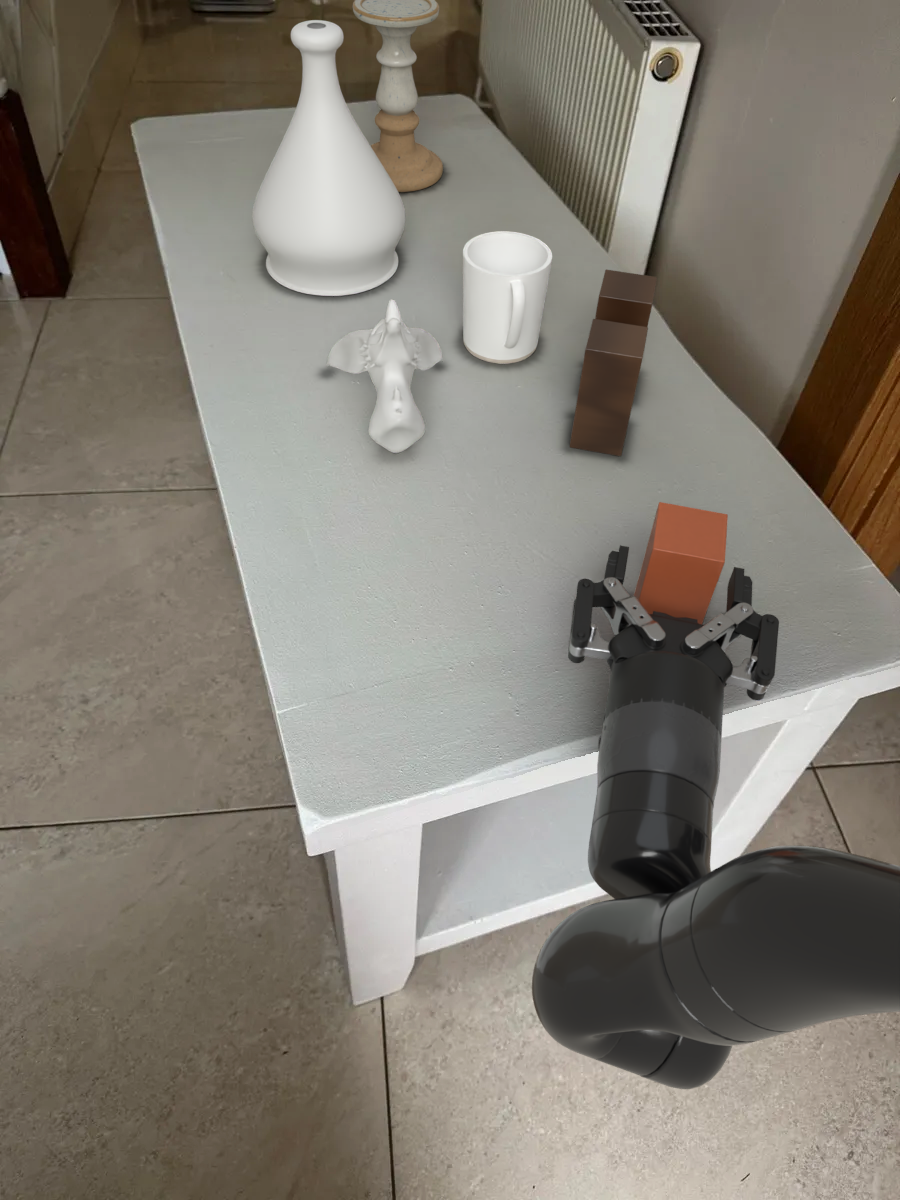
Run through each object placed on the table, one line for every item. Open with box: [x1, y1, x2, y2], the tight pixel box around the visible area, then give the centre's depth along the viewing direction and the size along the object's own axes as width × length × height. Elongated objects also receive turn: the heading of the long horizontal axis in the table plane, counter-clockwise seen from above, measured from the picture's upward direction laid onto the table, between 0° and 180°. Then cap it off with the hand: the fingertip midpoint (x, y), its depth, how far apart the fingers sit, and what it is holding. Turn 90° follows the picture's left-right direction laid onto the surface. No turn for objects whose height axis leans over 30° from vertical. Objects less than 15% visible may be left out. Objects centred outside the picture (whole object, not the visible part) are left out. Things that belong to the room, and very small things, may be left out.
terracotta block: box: [633, 501, 729, 626], centre depth 70 cm, size 5×5×11 cm
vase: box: [251, 19, 407, 297], centre depth 101 cm, size 17×17×25 cm
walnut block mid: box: [569, 318, 649, 457], centre depth 86 cm, size 5×5×11 cm
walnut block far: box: [594, 269, 658, 328], centre depth 92 cm, size 5×5×11 cm
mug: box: [462, 230, 553, 365], centre depth 96 cm, size 11×9×10 cm
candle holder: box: [352, 0, 444, 193], centre depth 119 cm, size 12×12×20 cm
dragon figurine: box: [326, 298, 444, 454], centre depth 86 cm, size 12×18×13 cm
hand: (678, 564), depth 70 cm, fingers open, 8 cm apart
